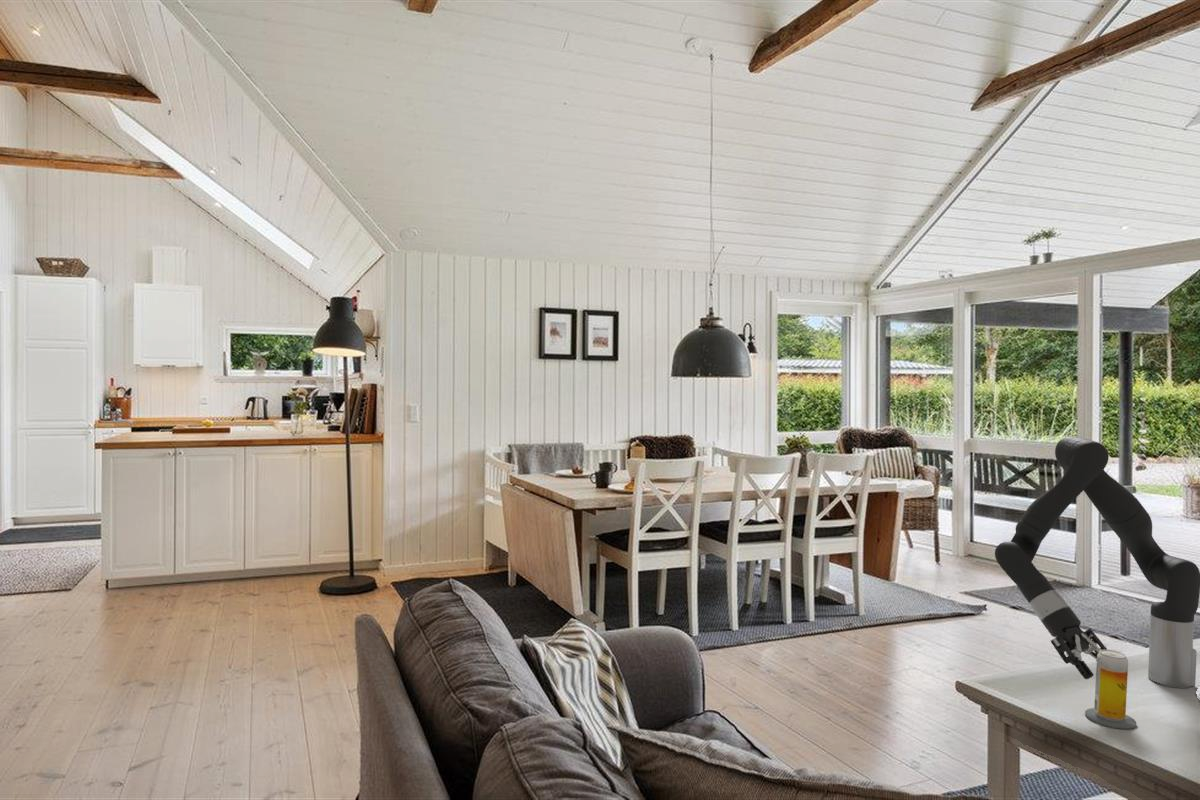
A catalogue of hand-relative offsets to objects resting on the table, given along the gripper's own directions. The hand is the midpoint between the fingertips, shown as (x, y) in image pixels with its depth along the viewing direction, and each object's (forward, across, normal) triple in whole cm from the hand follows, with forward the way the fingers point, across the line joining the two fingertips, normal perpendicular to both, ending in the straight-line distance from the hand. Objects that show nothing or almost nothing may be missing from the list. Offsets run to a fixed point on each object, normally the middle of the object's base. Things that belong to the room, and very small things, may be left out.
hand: (1100, 674), depth 180 cm
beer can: (+8, 0, +5) cm, 10 cm away
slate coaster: (+9, 0, +5) cm, 10 cm away
